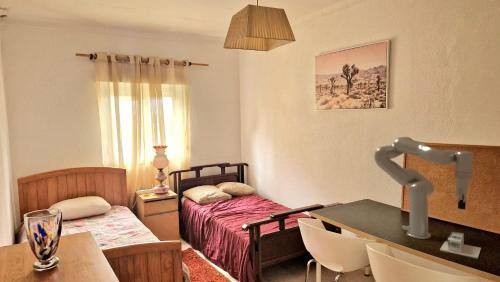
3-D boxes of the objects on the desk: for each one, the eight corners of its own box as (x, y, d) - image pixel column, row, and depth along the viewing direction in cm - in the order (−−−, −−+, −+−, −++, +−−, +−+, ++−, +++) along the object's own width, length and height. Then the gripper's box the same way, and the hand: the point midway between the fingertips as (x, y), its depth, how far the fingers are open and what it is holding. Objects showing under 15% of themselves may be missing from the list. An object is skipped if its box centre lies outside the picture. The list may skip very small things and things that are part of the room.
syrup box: (463, 233, 171) (460, 240, 159) (464, 243, 171) (461, 252, 160) (451, 231, 174) (447, 238, 163) (451, 241, 175) (447, 250, 163)
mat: (439, 250, 164) (439, 249, 164) (445, 241, 176) (445, 240, 176) (477, 258, 154) (477, 257, 154) (480, 248, 165) (480, 247, 165)
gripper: (457, 172, 175) (455, 204, 177) (452, 175, 164) (450, 210, 166) (473, 173, 170) (471, 207, 172) (469, 177, 159) (468, 213, 161)
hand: (461, 208), depth 169 cm, fingers closed
